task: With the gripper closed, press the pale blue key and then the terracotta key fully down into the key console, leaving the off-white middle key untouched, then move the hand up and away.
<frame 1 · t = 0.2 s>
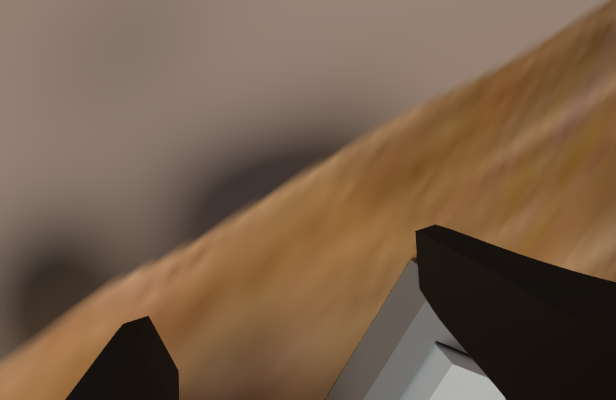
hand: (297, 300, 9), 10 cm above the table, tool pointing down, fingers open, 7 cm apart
key console: (497, 388, 27), on the table
pale blue key: (450, 397, 21), point 4 cm above the table, slide at 0.0 cm
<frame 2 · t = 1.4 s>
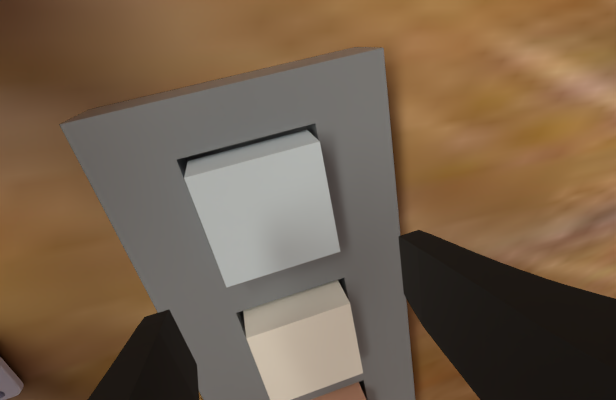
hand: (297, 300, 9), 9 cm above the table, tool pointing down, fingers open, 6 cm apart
key console: (291, 298, 21), on the table
off-white key: (304, 341, 18), point 4 cm above the table, slide at 0.0 cm
pale blue key: (267, 208, 14), point 4 cm above the table, slide at 0.0 cm
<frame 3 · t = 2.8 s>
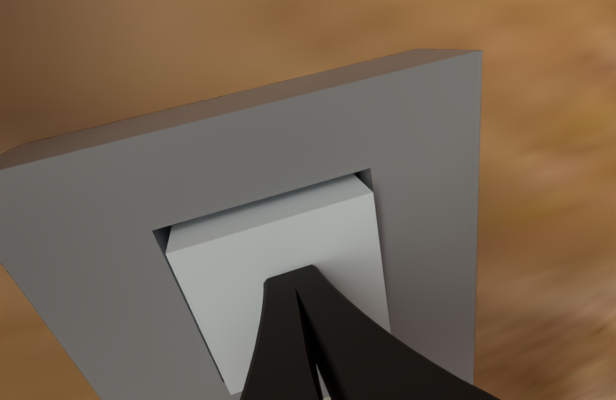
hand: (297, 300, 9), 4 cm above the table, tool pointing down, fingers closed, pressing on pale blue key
key console: (314, 378, 16), on the table
pale blue key: (288, 279, 10), point 3 cm above the table, slide at 0.7 cm, touching gripper
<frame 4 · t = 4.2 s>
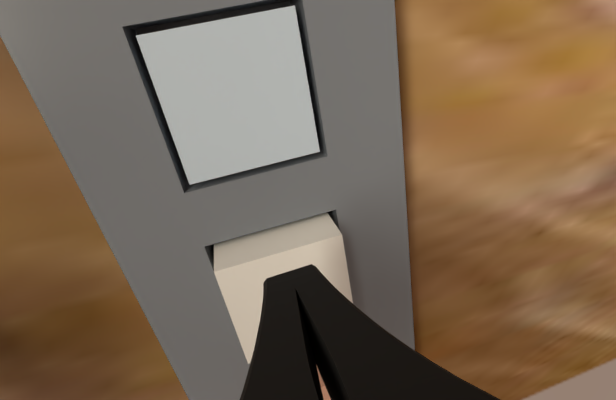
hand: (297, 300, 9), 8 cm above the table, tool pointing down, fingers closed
key console: (275, 246, 18), on the table
off-white key: (288, 287, 15), point 3 cm above the table, slide at 0.0 cm
pale blue key: (237, 96, 13), point 2 cm above the table, slide at 1.4 cm
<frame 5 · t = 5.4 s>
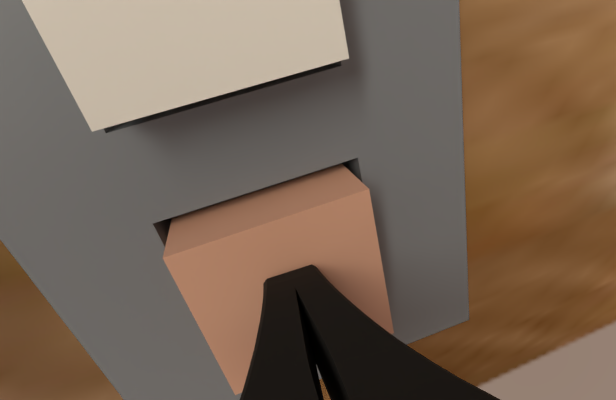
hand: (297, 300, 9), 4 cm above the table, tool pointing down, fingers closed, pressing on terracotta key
terracotta key: (288, 278, 10), point 3 cm above the table, slide at 0.2 cm, touching gripper
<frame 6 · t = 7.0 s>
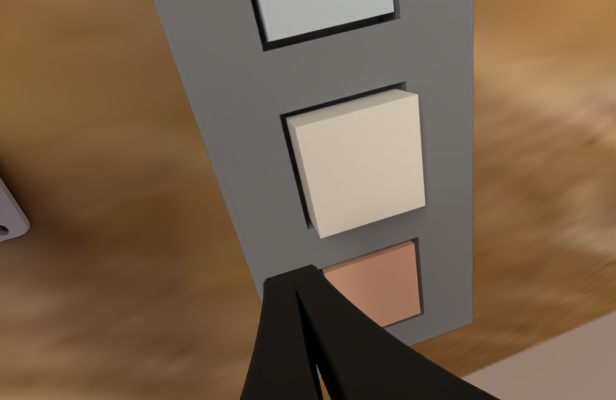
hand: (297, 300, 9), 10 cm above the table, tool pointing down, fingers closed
key console: (334, 143, 18), on the table
off-white key: (357, 163, 15), point 4 cm above the table, slide at 0.0 cm
terracotta key: (369, 283, 20), point 2 cm above the table, slide at 1.4 cm
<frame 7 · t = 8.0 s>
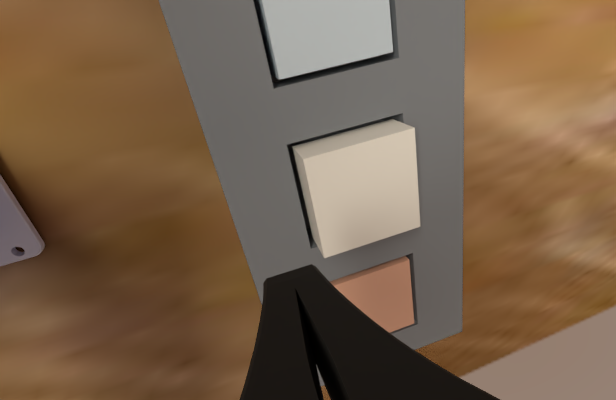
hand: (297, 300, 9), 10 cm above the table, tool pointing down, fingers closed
key console: (334, 165, 20), on the table
off-white key: (358, 188, 16), point 3 cm above the table, slide at 0.0 cm
terracotta key: (366, 296, 21), point 2 cm above the table, slide at 1.4 cm
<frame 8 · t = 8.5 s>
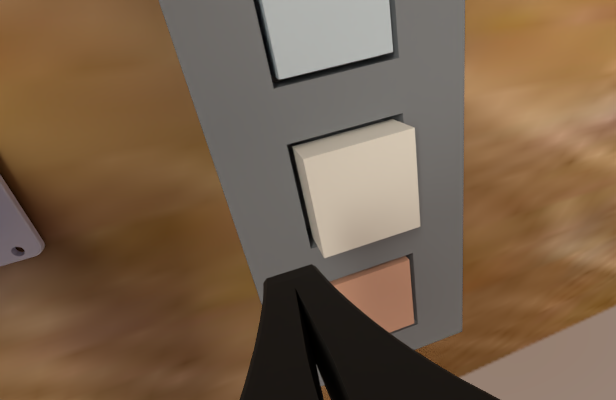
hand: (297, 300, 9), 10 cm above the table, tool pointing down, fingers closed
key console: (334, 165, 20), on the table
off-white key: (358, 188, 16), point 3 cm above the table, slide at 0.0 cm
terracotta key: (366, 296, 21), point 2 cm above the table, slide at 1.4 cm
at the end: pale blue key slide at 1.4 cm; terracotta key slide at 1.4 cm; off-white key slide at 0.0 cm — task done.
